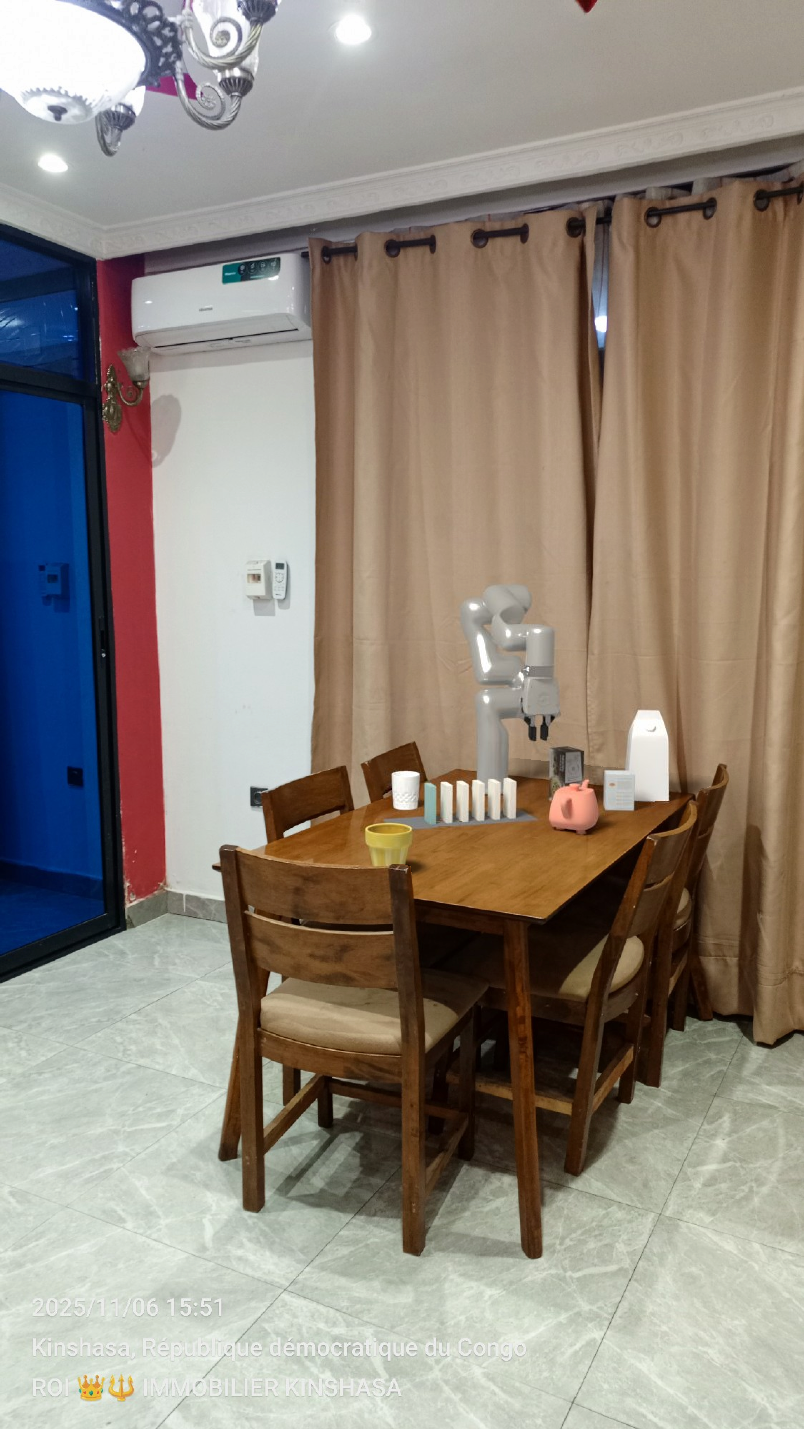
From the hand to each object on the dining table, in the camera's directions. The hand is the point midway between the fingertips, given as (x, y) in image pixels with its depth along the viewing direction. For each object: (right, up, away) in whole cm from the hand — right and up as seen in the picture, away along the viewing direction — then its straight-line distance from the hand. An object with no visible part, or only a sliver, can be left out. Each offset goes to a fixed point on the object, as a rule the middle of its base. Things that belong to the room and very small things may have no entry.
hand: (538, 739), depth 260 cm
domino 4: (-16, -21, -2) cm, 27 cm away
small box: (+24, -20, +12) cm, 34 cm away
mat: (-21, -22, -3) cm, 31 cm away
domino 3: (-21, -21, -3) cm, 30 cm away
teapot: (+8, -23, -10) cm, 26 cm away
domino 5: (-12, -21, 0) cm, 24 cm away
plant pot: (-40, -28, -46) cm, 67 cm away
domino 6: (-8, -21, +1) cm, 22 cm away
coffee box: (+10, -19, +17) cm, 28 cm away
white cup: (-36, -20, +11) cm, 42 cm away
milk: (+36, -18, +27) cm, 48 cm away
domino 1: (-29, -22, -5) cm, 37 cm away
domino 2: (-25, -21, -4) cm, 33 cm away
